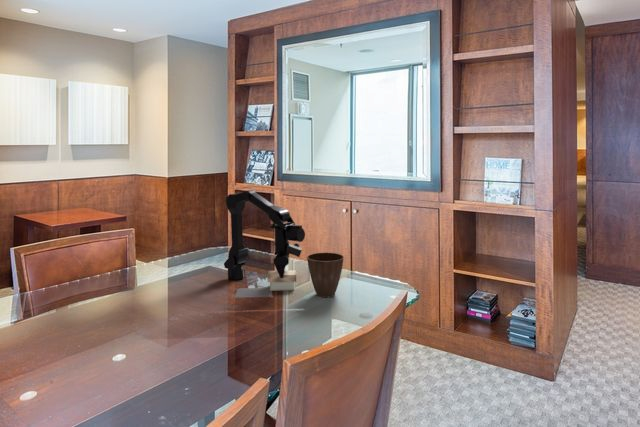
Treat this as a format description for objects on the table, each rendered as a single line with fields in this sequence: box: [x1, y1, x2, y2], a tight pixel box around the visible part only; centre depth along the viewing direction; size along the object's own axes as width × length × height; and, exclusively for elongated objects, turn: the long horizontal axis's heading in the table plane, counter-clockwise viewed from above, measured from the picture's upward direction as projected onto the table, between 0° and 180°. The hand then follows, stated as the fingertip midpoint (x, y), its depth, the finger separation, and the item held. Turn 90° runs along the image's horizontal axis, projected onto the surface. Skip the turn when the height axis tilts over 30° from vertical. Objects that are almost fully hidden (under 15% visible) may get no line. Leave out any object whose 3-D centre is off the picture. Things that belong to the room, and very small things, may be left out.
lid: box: [267, 269, 297, 283], centre depth 203 cm, size 12×7×4 cm, turn 92°
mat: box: [233, 287, 271, 299], centre depth 197 cm, size 14×12×1 cm
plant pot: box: [306, 252, 344, 298], centre depth 195 cm, size 15×15×16 cm
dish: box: [269, 282, 295, 292], centre depth 204 cm, size 10×8×4 cm
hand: (282, 275), depth 203 cm, fingers open, 8 cm apart
